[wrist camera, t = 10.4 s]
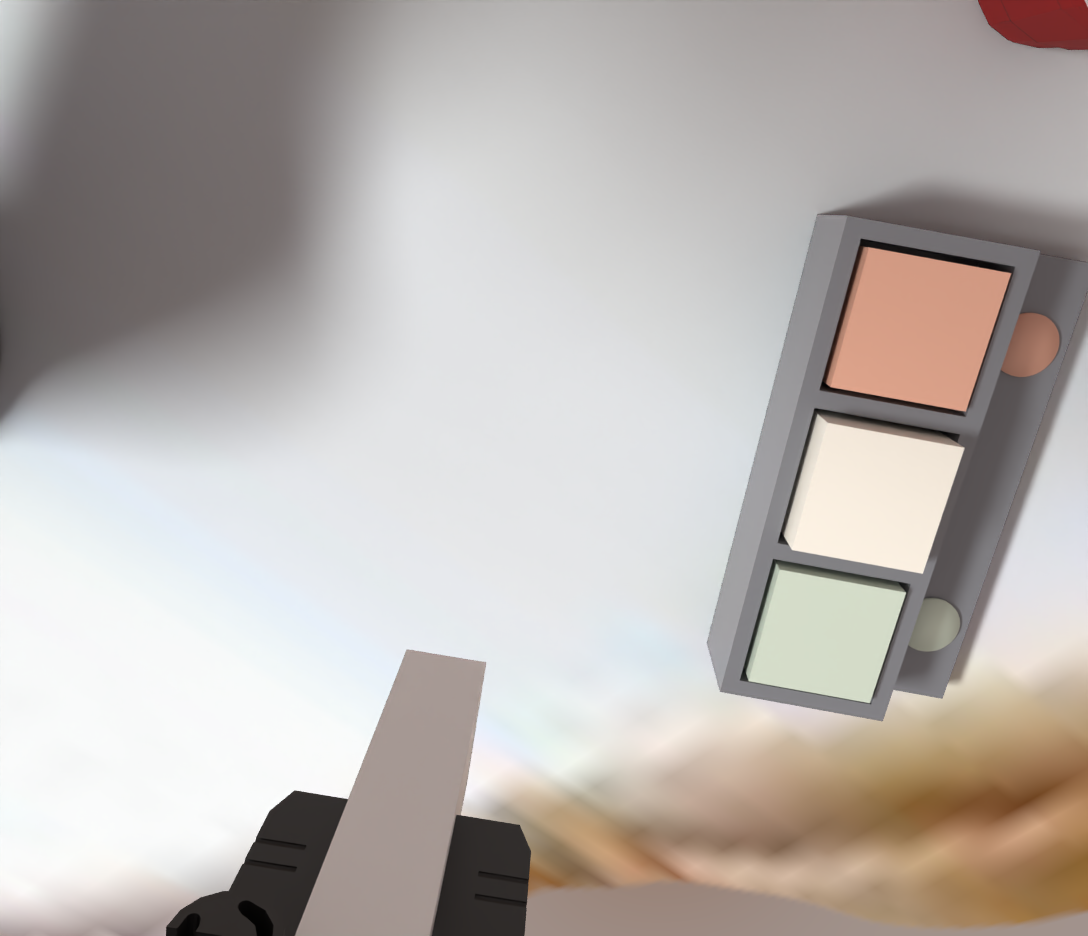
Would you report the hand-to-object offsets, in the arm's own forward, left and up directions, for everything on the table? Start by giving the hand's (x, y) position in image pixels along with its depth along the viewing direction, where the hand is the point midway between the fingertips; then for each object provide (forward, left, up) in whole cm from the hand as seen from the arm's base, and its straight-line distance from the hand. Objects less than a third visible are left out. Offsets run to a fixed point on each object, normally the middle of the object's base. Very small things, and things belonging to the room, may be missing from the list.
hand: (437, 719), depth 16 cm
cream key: (+16, 0, -26) cm, 30 cm away
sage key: (+16, -8, -27) cm, 32 cm away
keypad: (+18, 0, -29) cm, 34 cm away
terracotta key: (+16, +7, -27) cm, 32 cm away
